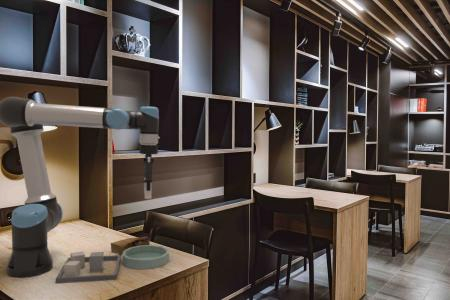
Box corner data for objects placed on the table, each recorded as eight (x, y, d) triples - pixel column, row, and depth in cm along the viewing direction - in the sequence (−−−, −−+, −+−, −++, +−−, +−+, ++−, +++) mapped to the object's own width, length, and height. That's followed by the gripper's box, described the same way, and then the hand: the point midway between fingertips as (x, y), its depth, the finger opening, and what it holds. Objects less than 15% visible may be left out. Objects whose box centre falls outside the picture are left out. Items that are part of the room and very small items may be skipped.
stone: (120, 256, 156) (120, 244, 156) (109, 251, 163) (109, 239, 163) (151, 249, 167) (151, 237, 167) (139, 244, 173) (139, 233, 173)
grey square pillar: (89, 272, 139) (89, 256, 138) (91, 268, 143) (91, 252, 142) (102, 271, 139) (102, 255, 139) (103, 267, 144) (103, 251, 143)
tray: (55, 283, 128) (55, 278, 128) (68, 261, 149) (68, 257, 149) (116, 279, 132) (116, 274, 132) (120, 258, 153) (120, 255, 153)
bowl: (121, 270, 141) (121, 261, 141) (124, 254, 159) (124, 246, 158) (169, 267, 145) (169, 258, 144) (167, 252, 162) (167, 244, 162)
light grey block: (64, 278, 132) (64, 264, 132) (69, 274, 136) (69, 260, 136) (75, 279, 132) (75, 265, 132) (80, 274, 136) (80, 261, 136)
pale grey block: (72, 269, 141) (72, 256, 141) (70, 265, 145) (70, 253, 144) (84, 267, 143) (84, 254, 143) (82, 263, 147) (82, 251, 147)
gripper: (159, 146, 144) (158, 201, 145) (156, 143, 168) (155, 190, 169) (139, 145, 142) (138, 201, 143) (139, 142, 166) (138, 190, 168)
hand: (147, 195), depth 156 cm, fingers open, 13 cm apart
